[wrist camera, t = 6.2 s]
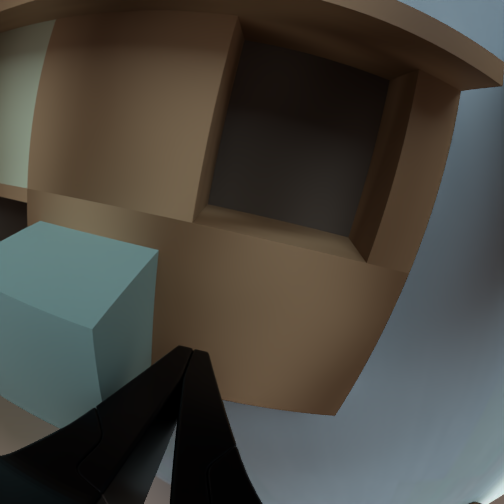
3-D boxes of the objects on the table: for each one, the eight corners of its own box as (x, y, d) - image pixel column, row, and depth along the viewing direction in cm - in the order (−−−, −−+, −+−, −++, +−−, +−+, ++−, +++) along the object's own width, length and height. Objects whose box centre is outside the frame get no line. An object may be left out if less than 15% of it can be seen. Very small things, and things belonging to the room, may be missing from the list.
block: (158, 249, 9) (91, 329, 5) (151, 364, 10) (113, 450, 7) (40, 221, 9) (-45, 268, 5) (50, 328, 10) (-5, 392, 6)
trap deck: (426, 80, 8) (504, 62, 4) (327, 375, 13) (341, 454, 9) (10, 34, 8) (-57, 24, 4) (-4, 282, 13) (-55, 322, 8)
